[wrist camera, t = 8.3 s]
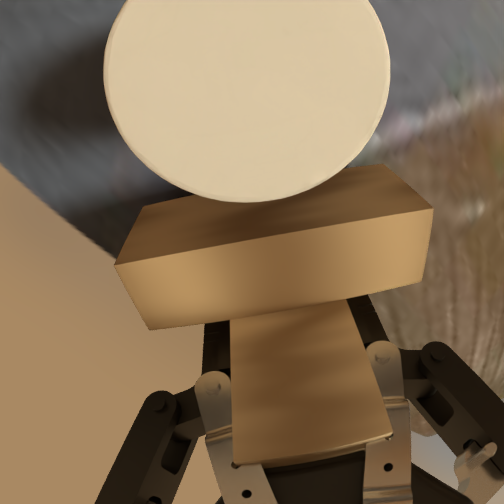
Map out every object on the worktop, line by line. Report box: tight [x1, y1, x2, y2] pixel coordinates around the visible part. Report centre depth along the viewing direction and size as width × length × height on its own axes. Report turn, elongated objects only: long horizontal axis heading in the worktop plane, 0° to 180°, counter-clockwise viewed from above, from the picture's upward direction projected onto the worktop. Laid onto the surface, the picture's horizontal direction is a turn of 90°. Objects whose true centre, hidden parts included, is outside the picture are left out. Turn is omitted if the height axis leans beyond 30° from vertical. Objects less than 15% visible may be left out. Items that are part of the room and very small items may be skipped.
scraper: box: [114, 164, 434, 468], centre depth 10 cm, size 10×7×9 cm
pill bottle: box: [103, 0, 390, 203], centre depth 7 cm, size 5×5×8 cm
